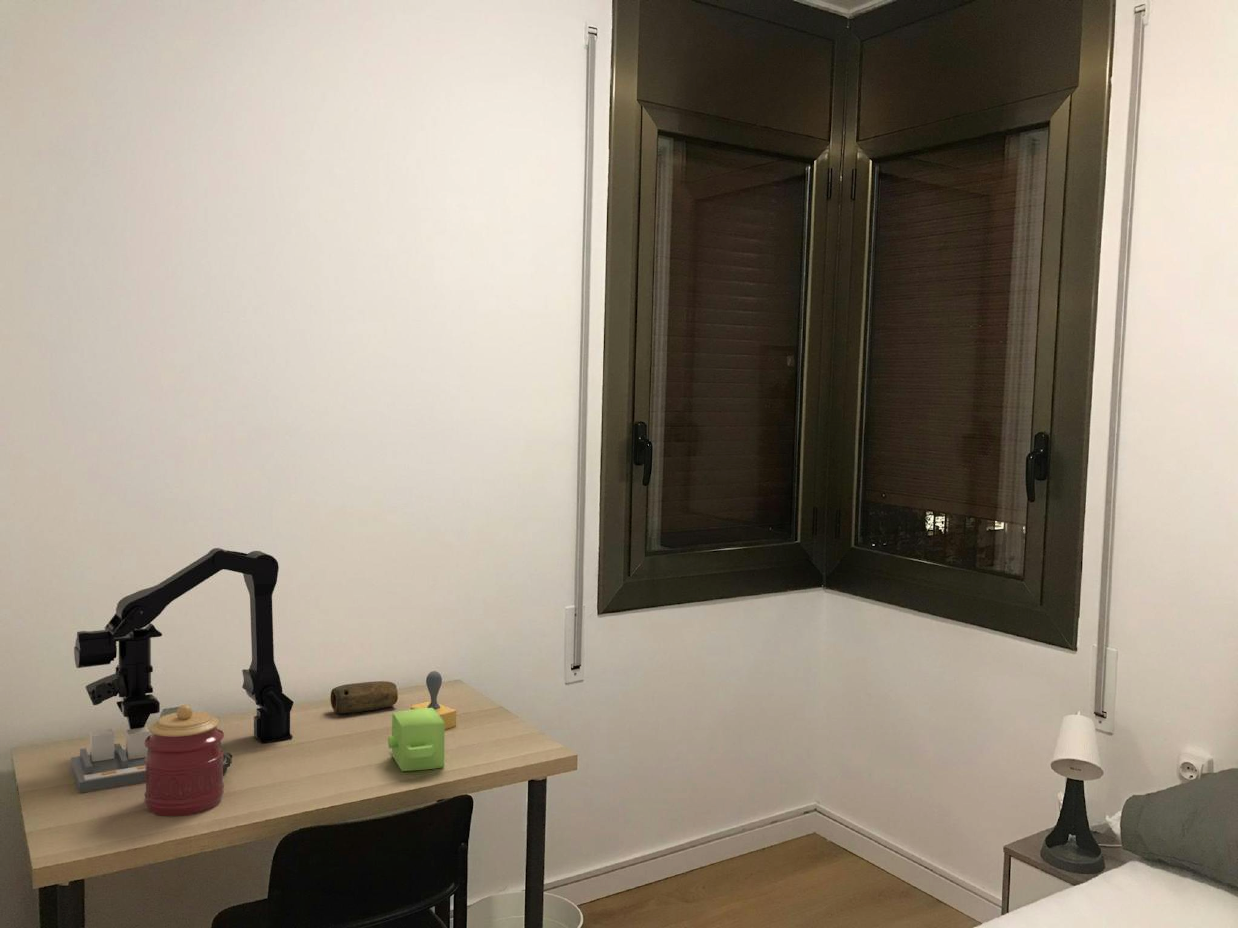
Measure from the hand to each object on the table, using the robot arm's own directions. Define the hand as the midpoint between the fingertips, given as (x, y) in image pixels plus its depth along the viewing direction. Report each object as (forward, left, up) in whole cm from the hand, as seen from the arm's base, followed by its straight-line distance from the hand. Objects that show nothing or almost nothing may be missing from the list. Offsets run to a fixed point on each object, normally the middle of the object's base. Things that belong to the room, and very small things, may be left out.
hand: (135, 738), depth 200 cm
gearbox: (-47, +27, -5) cm, 54 cm away
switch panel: (+3, +5, -5) cm, 7 cm away
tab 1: (+6, +1, -2) cm, 7 cm away
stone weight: (-50, -11, -5) cm, 52 cm away
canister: (-4, +26, -5) cm, 27 cm away
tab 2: (0, +3, -2) cm, 4 cm away
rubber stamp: (-60, +7, -5) cm, 61 cm away
